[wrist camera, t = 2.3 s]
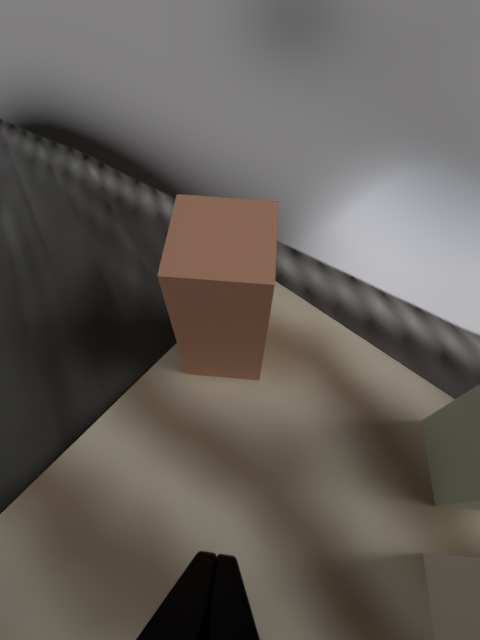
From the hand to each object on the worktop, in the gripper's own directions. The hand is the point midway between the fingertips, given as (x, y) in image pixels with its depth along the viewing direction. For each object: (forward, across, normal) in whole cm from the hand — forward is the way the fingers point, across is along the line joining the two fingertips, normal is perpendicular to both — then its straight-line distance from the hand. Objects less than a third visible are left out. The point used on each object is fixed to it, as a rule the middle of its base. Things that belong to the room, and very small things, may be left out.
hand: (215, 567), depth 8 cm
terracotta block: (+16, +2, +1) cm, 16 cm away
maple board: (+10, -3, +8) cm, 13 cm away
